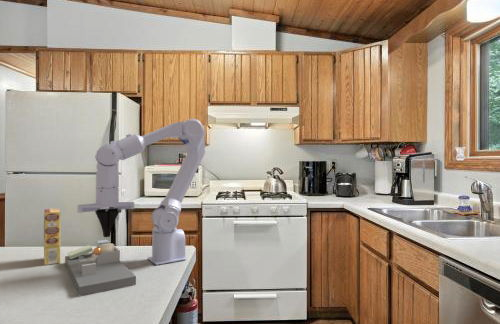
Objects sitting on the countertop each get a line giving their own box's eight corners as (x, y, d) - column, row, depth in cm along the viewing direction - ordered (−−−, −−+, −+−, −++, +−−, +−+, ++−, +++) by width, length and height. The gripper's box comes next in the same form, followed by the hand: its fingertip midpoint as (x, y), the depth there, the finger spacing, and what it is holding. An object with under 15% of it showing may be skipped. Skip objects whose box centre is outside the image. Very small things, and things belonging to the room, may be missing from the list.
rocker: (90, 247, 97) (89, 244, 97) (92, 250, 93) (91, 247, 93) (68, 256, 93) (67, 252, 93) (70, 259, 90) (69, 256, 90)
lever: (89, 269, 81) (102, 247, 83) (91, 272, 79) (104, 250, 80) (81, 267, 80) (94, 244, 82) (83, 269, 78) (97, 247, 80)
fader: (106, 251, 99) (106, 239, 99) (109, 253, 96) (109, 241, 96) (96, 252, 97) (96, 240, 97) (98, 255, 94) (98, 243, 94)
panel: (108, 256, 101) (108, 240, 101) (135, 284, 76) (136, 263, 77) (64, 263, 94) (65, 246, 94) (79, 296, 70) (79, 273, 70)
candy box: (60, 263, 94) (61, 211, 94) (43, 265, 91) (44, 212, 92) (59, 256, 101) (59, 208, 101) (43, 258, 99) (43, 209, 99)
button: (112, 252, 92) (112, 242, 92) (115, 255, 89) (115, 245, 89) (97, 254, 90) (98, 244, 90) (100, 257, 87) (100, 247, 87)
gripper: (129, 186, 97) (129, 231, 97) (76, 188, 89) (75, 237, 89) (136, 187, 92) (136, 235, 91) (79, 189, 83) (79, 241, 83)
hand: (106, 236), depth 90 cm, fingers closed
